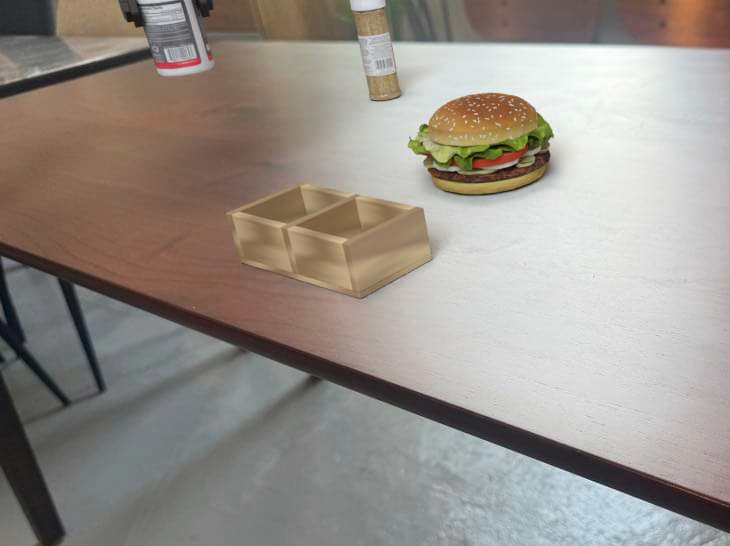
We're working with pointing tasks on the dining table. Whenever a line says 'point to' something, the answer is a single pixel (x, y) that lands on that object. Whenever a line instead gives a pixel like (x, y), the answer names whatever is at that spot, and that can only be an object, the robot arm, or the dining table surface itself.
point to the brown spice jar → (376, 48)
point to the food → (484, 144)
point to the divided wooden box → (331, 238)
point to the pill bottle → (176, 36)
